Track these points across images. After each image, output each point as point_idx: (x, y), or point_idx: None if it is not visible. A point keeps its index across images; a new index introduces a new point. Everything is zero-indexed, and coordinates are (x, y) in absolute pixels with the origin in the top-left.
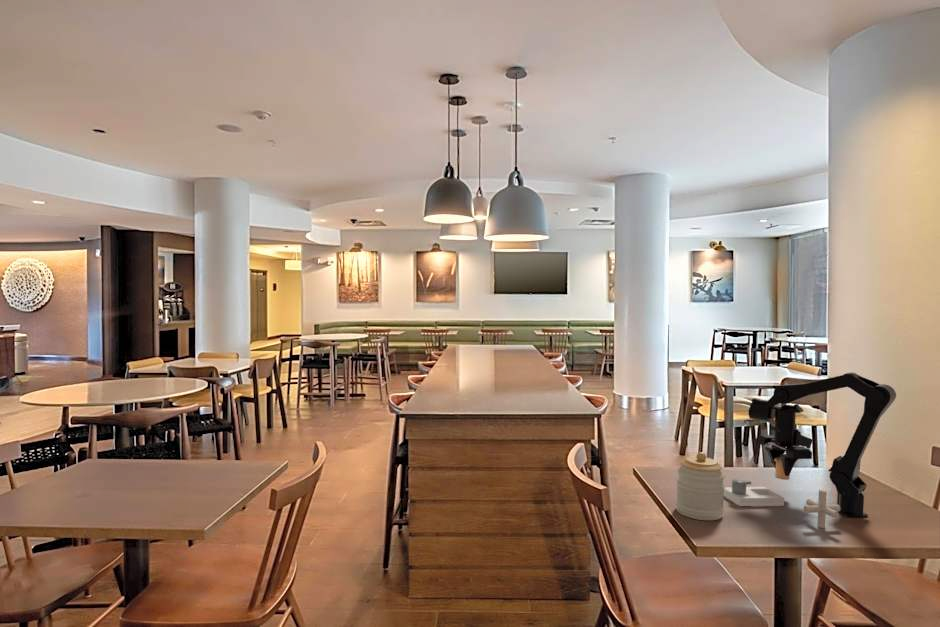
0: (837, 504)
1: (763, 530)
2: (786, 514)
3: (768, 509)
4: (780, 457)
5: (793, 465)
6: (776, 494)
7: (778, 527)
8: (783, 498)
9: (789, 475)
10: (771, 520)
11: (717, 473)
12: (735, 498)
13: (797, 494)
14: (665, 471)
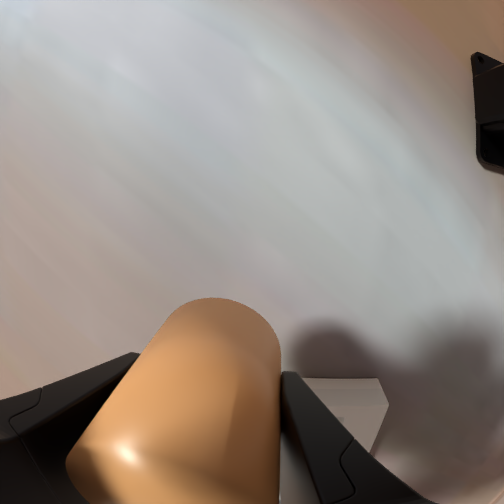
0: (486, 123)
1: (469, 490)
2: (446, 414)
3: (384, 448)
4: (87, 486)
5: (364, 451)
6: (335, 414)
7: (482, 463)
8: (386, 404)
9: (266, 341)
10: (449, 467)
11: None
12: None
13: (216, 157)
14: None
